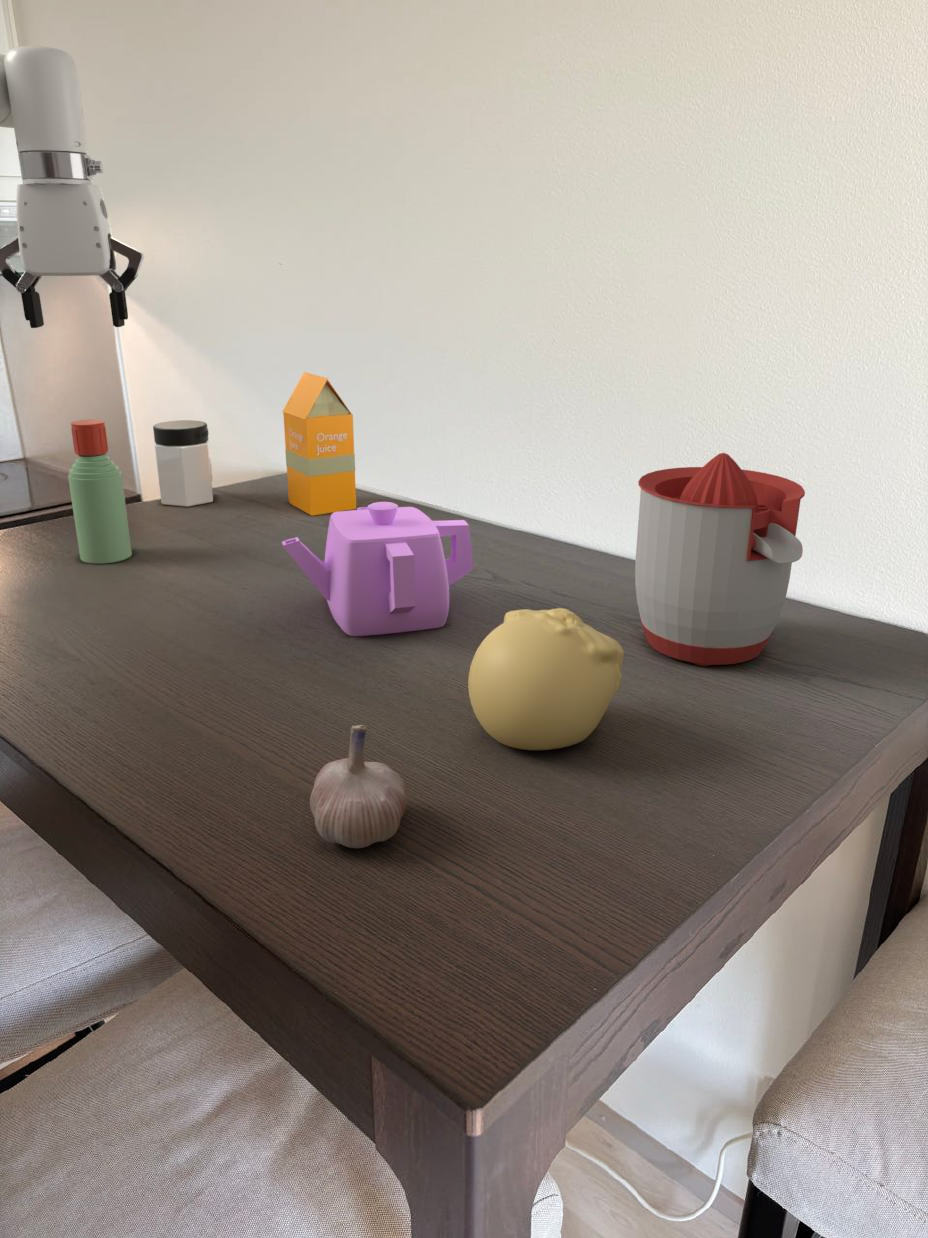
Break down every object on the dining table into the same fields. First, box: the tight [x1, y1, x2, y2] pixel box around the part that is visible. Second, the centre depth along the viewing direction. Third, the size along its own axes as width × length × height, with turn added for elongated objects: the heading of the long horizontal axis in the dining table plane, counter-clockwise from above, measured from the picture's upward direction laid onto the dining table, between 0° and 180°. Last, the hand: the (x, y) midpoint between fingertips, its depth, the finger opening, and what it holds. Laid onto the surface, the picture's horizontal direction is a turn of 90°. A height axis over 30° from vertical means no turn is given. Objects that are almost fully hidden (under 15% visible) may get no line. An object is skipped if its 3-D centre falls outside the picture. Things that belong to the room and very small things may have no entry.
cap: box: [70, 418, 109, 456], centre depth 119 cm, size 4×4×4 cm
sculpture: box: [467, 607, 625, 751], centre depth 79 cm, size 12×12×11 cm
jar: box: [152, 419, 214, 508], centre depth 150 cm, size 9×8×12 cm
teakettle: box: [281, 501, 474, 637], centre depth 105 cm, size 17×17×12 cm
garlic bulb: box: [309, 724, 407, 849], centre depth 66 cm, size 8×7×8 cm
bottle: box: [67, 453, 133, 565], centre depth 122 cm, size 6×6×17 cm
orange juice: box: [282, 371, 357, 516], centre depth 146 cm, size 8×9×20 cm
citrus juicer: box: [634, 452, 806, 667], centre depth 94 cm, size 16×17×20 cm
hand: (78, 326), depth 116 cm, fingers open, 9 cm apart
